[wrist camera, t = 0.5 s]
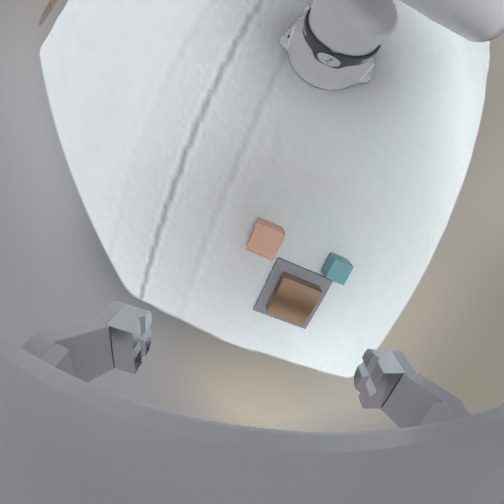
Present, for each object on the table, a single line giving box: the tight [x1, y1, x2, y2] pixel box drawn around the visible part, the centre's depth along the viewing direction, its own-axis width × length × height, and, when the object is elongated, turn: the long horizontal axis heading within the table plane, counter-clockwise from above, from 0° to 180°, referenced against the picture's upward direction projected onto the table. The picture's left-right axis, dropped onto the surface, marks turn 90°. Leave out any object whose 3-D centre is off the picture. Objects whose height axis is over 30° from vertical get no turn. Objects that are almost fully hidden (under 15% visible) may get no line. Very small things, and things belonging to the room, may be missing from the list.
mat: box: [253, 258, 333, 329], centre depth 54 cm, size 12×12×1 cm
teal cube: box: [322, 252, 353, 285], centre depth 51 cm, size 4×4×4 cm
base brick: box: [266, 271, 322, 326], centre depth 53 cm, size 8×8×3 cm
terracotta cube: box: [246, 218, 285, 260], centre depth 49 cm, size 5×5×5 cm
